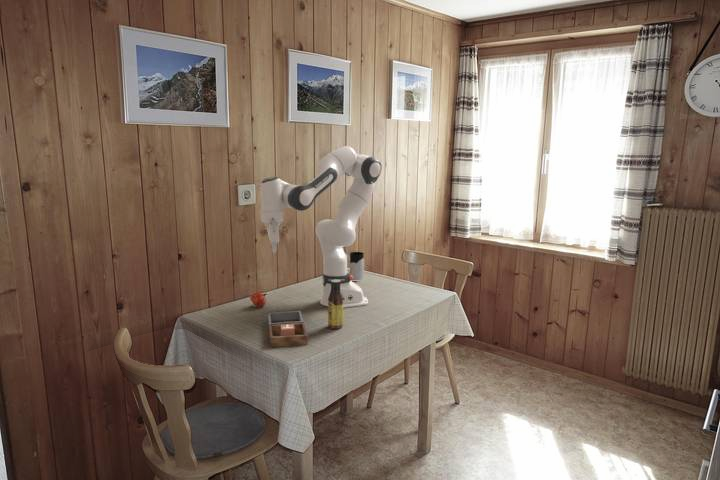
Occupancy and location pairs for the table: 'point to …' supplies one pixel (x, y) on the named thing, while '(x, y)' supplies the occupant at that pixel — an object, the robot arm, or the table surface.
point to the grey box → (285, 317)
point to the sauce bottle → (335, 306)
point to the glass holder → (356, 265)
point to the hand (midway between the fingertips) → (274, 249)
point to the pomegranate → (258, 300)
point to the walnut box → (288, 339)
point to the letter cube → (287, 330)
